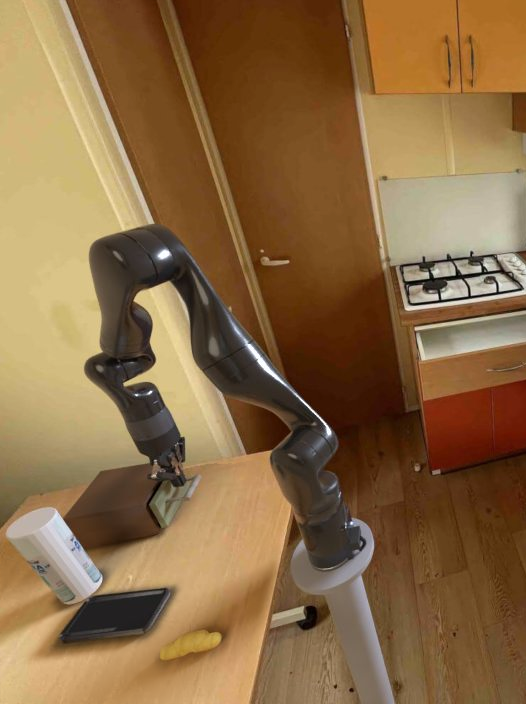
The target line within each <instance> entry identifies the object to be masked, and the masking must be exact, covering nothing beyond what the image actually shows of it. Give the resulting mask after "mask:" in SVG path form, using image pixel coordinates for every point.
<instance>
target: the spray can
mask: <svg viewBox="0 0 526 704" xmlns="http://www.w3.org/2000/svg"><path fill="white" fill-rule="evenodd" d="M5 537H6V539H7V540H8V541H9V542H10V544H11V545H13V547H14V548H15V550H16V551H17V552H18V553H19V554H20V555H21V556H22V557H23V559H24V560H25V561H26V562H27V563H28V565H29V566H30V567H31V568H32V569H33V570H34V571H35V573H36V574H37V575H38V577H40V579H41V580H42V581H43V582H44V584H46V586H47V587H48V588H49V589H50V590H51V592H52V593H53V594H54V595H55V596H56V598H58V600H59V601H60V603H62V604H65V605H74V604H77V603H79V602H81V601H85V600H87V599H88V598H90V597H91V596H92V595H93V594H94V593H95V592H96V591H97V590H99V587H100V586H101V585H102V582H103V575H102V573H101V572H100V571H99V568H97V567H96V565H95V563H94V562H93V560H92V559H91V557H90V556H89V555H88V553H87V552H86V550H85V548H84V549H83V547H82V546H81V545H80V543H79V542H78V540H77V539H76V537H75V536H74V535H73V533H72V532H71V530H70V529H69V527H68V526H67V524H66V523H65V522H64V520H63V517H62V516H61V514H60V513H59V511H58V510H57V509H56V508H55V507H52V506H46V507H45V506H44V507H40V508H37V509H34V510H32V511H29V512H27V513H25V514H23V515H22V516H20V517H19V518H17V519H16V520H15V521H13V522H12V523H11V524H10V525H9V526H8V528H7V529H6V531H5Z"/></svg>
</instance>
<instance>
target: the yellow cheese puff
mask: <svg viewBox="0 0 526 704" xmlns="http://www.w3.org/2000/svg"><path fill="white" fill-rule="evenodd" d="M221 641H222V634H221V633H220V632H218V631H213V632H208V631H207V630H206V629H200V630H195V631H191V632H187V633H184V634H181V635H180V636H179V637H178V638H177V639H176V640H175V641H173V642H169V643H167V644H165V645H164V646H163V647H162V648H161V650H160V651H159V658H160V659H161V660H163V661H169V660H173V659H177V658H181V657H185V656H186V655H188V654H190V653H193V654H194V653H200V652H204V651H209V650H213V649H215V648H216V647H217V646H218V645H220V643H221Z"/></svg>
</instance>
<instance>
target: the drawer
mask: <svg viewBox="0 0 526 704" xmlns="http://www.w3.org/2000/svg"><path fill="white" fill-rule="evenodd" d="M182 471H183V473H184V475H185V477H186V479H187V481H186V483H185V485H184V486H182V487H173V485H172V483H171V481H170V480H167V481H160V482H159V484H158V486H157V487H156V489H155V490H154V492H153V494H152V495H151V497H150V499H149V500H148V502H147V504H146V505H147V507H148V508H149V510H150V512H151V514H152V515H153V517H154V519H155V521H156V523H157V524H158V522H159V524H160V525H161V527H162V529H165V528H169V526H170V524H171V522H172V520H173V518H174V517H175V514H176V512H177V511H178V509H179V507H180V505H181V503H182V501H184V502H189V501H190V500H191V499H192V496H193V495H194V493H195V491H196V489H197V487H198V486H199V483H200V480H201V479H202V477H203V476H202V474H199V473H196V474H195V475H194V476H190V477H187V475H186V473H185V472H184V468H183V469H182ZM190 482H191V483H190Z"/></svg>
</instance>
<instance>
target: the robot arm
mask: <svg viewBox="0 0 526 704" xmlns="http://www.w3.org/2000/svg"><path fill="white" fill-rule="evenodd" d="M88 265H89V270H90V274H91V278H92V279H91V280H92V283H93V289H94V293H95V296H96V299H97V303H98V306H99V311H100V318H101V319H100V320H101V323H100V330H99V331H100V332H99V340H98V341H99V343H98V344H99V348H100V350H101V352H99V353H96V354H94V355H92V356H90V357H88V359H86V360H85V362H84V364H83V373H84V375H85V377H86V378H87V379H88V380H89V381H90V382H91V383H92V384H93V385H95V386H96V387H97V388H98V389H100V391H102V392H103V393H104V394H106V396H107V397H108V398H109V399H110V400H111V401H112V402H113V403H114V404H115V406H116V408H117V410H118V412H119V413H120V415H121V417H122V419H123V421H124V424H125V428H126V431H127V432H128V434H129V436H130V439H132V441H133V444H134V445H135V447H136V449H137V451H138V453H139V454H141V455H143V456H146V457H147V458H148V460H149V463H150V465H151V466H153V471H152V473H150V474H148V475H147V478H148V479H149V480H155V481H167V480H170V481H171V483H172V485H173V487H182V486H184V485H185V483H186V481H187V479H186V478H187V476H186V474H185V472H184V473H183V471H184V465H183V463H186V437H185V436H182V434H181V432H180V430H179V428H178V425H177V423H176V421H175V419H174V417H173V415H172V412H171V411H170V409H169V408H168V406H167V405H166V403H165V401H164V399H163V396H162V394H161V392H160V390H159V388H158V387H157V385H156V384H155V383H153V382H152V381H151V382H150V381H140V382H134V383H131V384H128V385H127V384H126V385H124V384H125V383H126V382H129V381H131V380H133V379H134V378H137V377H139V376H142V375H143V374H145V373H147V372H148V371H150V370H152V368H154V366H155V364H156V363H157V357H156V354H155V353H154V350H153V347H152V345H151V338H152V333H153V329H154V328H153V327H154V322H153V318H152V315H151V314H150V312H149V311H148V310H147V309H146V308H145V307H144V306H143V305H141V304H140V303H138V302H136V301H135V298H136V297H137V295H138V294H139V293H140V292H144V291H147V290H151V289H153V288H156V287H157V286H160V285H162V284H165V283H168V282H169V283H170V284H171V285H172V286H173V288H174V289H175V291H176V292H177V293H178V295H179V296H180V298H181V300H182V301H183V303H184V305H185V308H186V311H187V315H188V316H187V317H188V323H189V339H190V348H191V349H190V350H191V355H192V358H193V361H194V363H195V365H196V366H197V368H198V369H199V371H201V372H202V373H203V375H204V376H205V377H206V378H207V379H208V380H209V382H210V383H211V384H212V385H213V386H214V387H215V388H216V389H217V391H219V392H220V393H221V394H223V395H225V396H227V397H229V398H232V399H233V400H237V401H240V402H242V403H243V402H244V403H246V404H249V405H253V406H255V407H256V406H257V407H260V408H262V409H265V410H267V411H269V412H271V413H273V414H275V415H276V416H277V417H278V418H279V419H280V420H281V421H282V422H283V423H284V424H285V425H286V427H288V429H289V430H290V432H289V433H288V434H287V435H286V436H285V437H284V438H283V439H282V440H281V441H280V442H279V443H278V444H277V445H276V446H275V447H274V448H273V449H272V450H271V451H270V454H269V465H270V469H271V471H272V473H273V475H274V479H275V480H276V482H277V484H278V487H279V489H280V492H281V493H282V495H283V497H284V498H285V500H286V501H287V502H288V503H289V505H290V507H291V509H292V512H293V515H294V518H295V522H296V524H297V527H298V530H299V532H300V536H301V540H302V539H303V542H304V545H305V548H306V551H307V553H308V557H309V561H310V564H311V566H312V567H313V568H314V569H316V570H318V571H321V572H327V571H332V570H335V569H337V568H339V567H341V566H342V565H344V564H345V563H346V562H347V561H348V560H351V559H353V558H354V552H355V550H359V551H360V552H361V551H362V550H363V549H364V547H365V546H366V539H365V538H364V537H362V536H361V529H360V526H355V527H354V525H353V521H352V518H353V517H352V514H351V510H350V507H349V506H348V505H346V502H345V499H344V495H343V490H342V487H341V483H340V480H339V477H338V476H337V475H336V474H335V473H334V472H332V471H330V470H326V469H325V467H326V466H327V465H328V464H329V462H331V460H332V459H333V458H334V457H335V455H336V454H337V452H338V451H339V448H340V442H339V438H338V436H337V434H336V432H335V431H334V430H333V428H332V427H331V426H330V425H329V423H327V422H326V421H325V419H324V418H323V417H322V416H321V415H320V414H319V413H318V412H317V411H316V410H314V409H313V407H312V406H311V405H310V404H309V403H308V402H307V401H306V400H305V399H304V398H303V397H302V396H301V395H300V394H299V393H298V392H297V391H296V390H295V389H294V387H293V386H292V385H291V384H290V383H289V382H288V381H287V379H286V378H285V376H284V375H283V374H282V373H281V372H280V370H279V369H278V368H277V367H276V366H275V364H274V362H272V360H271V359H270V357H269V356H268V355H267V353H266V352H265V351H264V350H263V349H262V347H261V346H260V345H259V344H258V342H257V341H256V339H254V337H253V336H252V335H251V334H250V333H249V332H248V331H247V329H246V328H245V326H243V324H241V322H240V321H239V320H238V318H237V317H236V316H235V315H234V314H233V312H232V311H231V309H230V308H229V307H228V306H227V305H226V303H225V302H224V300H223V299H222V297H221V296H220V294H218V292H217V290H216V289H215V287H214V286H213V285H212V283H211V281H210V280H209V278H208V277H207V276H206V274H205V273H204V272H203V271H204V270H203V269H202V268H201V267H200V265H199V264H198V262H197V261H196V259H195V257H194V256H193V255H192V252H191V251H190V250H189V249H188V248H187V246H186V245H185V243H183V241H182V240H181V239H180V238H179V237H178V235H177V234H175V233H174V232H173V231H172V230H170V229H169V228H168V227H167V226H164V225H162V224H158V223H149V224H148V223H147V224H144V225H140V226H136V227H133V228H129V229H125V230H122V231H118V232H115V233H110V234H108V235H105V236H102V237H100V238H97V239H96V240H94V241H93V242H92V243H91V245H90V247H89V250H88ZM182 469H183V471H182ZM184 474H185V475H184ZM185 476H186V477H185ZM361 541H362V542H363V544H362V546H361V547H360V545H361Z"/></svg>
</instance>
